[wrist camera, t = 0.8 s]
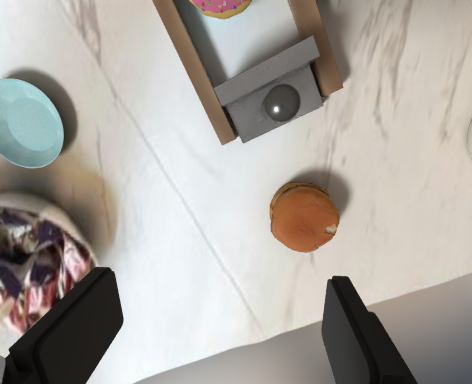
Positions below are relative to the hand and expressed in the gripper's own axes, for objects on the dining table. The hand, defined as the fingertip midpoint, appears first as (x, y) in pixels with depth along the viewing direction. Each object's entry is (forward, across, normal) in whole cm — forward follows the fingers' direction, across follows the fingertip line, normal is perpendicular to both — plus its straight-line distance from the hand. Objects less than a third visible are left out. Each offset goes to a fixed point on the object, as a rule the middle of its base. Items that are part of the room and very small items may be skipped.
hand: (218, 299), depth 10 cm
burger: (+26, -8, +6) cm, 28 cm away
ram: (+25, -3, -9) cm, 27 cm away
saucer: (+26, +30, -7) cm, 40 cm away
